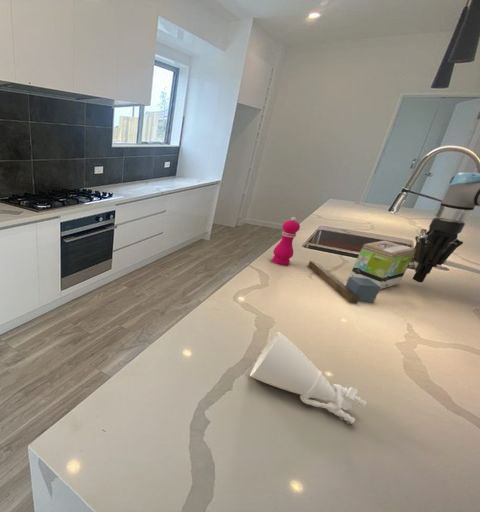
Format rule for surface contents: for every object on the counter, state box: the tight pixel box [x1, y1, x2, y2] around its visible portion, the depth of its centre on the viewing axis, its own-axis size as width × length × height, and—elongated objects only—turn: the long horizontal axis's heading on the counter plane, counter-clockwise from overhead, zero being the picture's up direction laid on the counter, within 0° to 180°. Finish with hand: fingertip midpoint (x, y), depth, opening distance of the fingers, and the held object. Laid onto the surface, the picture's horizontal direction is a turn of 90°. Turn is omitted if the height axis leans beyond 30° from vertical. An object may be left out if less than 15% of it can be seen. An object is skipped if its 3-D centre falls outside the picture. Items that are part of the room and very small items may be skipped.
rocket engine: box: [249, 331, 368, 424], centre depth 61 cm, size 12×12×18 cm
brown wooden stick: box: [307, 260, 360, 305], centre depth 111 cm, size 30×2×2 cm, turn 169°
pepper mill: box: [271, 216, 301, 266], centre depth 124 cm, size 7×7×20 cm
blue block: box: [345, 276, 381, 304], centre depth 101 cm, size 6×6×6 cm
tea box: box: [347, 240, 416, 290], centre depth 111 cm, size 15×10×15 cm, turn 114°
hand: (417, 280), depth 111 cm, fingers closed
